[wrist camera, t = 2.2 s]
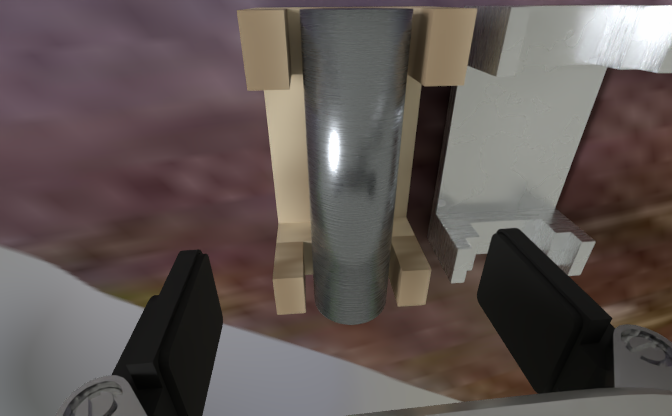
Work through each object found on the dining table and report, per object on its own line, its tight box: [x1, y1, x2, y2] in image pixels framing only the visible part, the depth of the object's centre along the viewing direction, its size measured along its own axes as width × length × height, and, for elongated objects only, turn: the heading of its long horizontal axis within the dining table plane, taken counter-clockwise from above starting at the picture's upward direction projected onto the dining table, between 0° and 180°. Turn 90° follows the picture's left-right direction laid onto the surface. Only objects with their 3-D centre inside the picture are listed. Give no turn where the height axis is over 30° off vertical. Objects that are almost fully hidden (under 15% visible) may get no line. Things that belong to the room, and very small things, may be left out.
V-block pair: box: [427, 5, 672, 283], centre depth 19 cm, size 8×14×4 cm, turn 0°
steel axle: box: [299, 8, 413, 325], centre depth 16 cm, size 4×14×4 cm, turn 0°
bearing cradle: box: [237, 6, 477, 315], centre depth 18 cm, size 8×14×6 cm, turn 0°
